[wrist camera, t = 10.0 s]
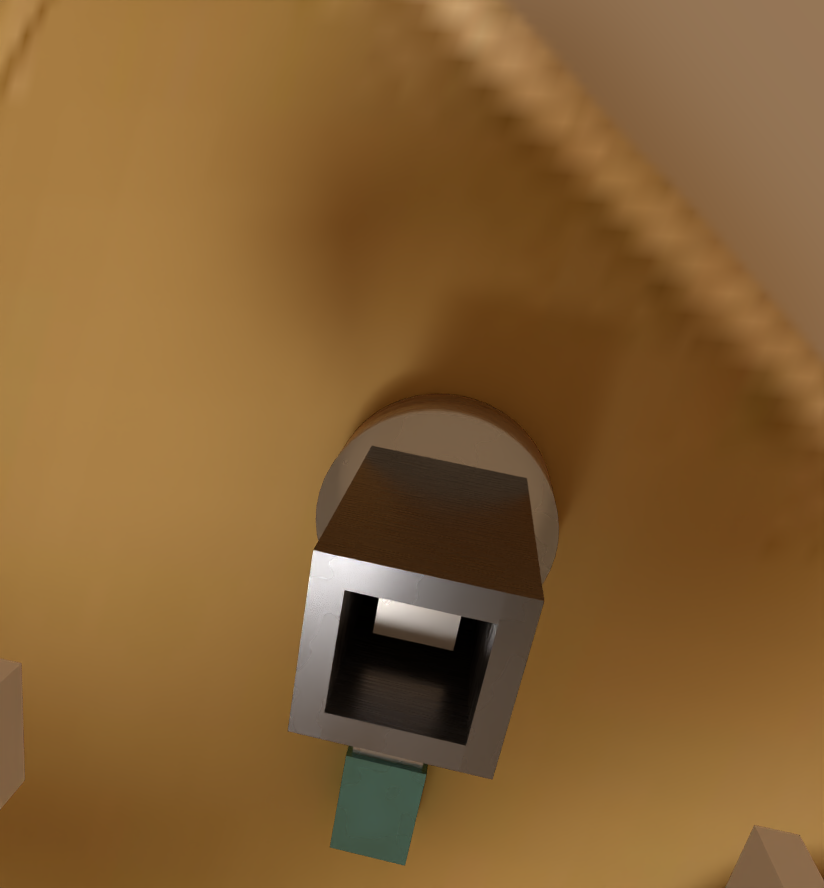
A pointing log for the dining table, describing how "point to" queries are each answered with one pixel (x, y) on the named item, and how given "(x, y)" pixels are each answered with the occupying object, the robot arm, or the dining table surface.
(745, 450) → the dining table surface
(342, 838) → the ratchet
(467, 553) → the square hollow tube
